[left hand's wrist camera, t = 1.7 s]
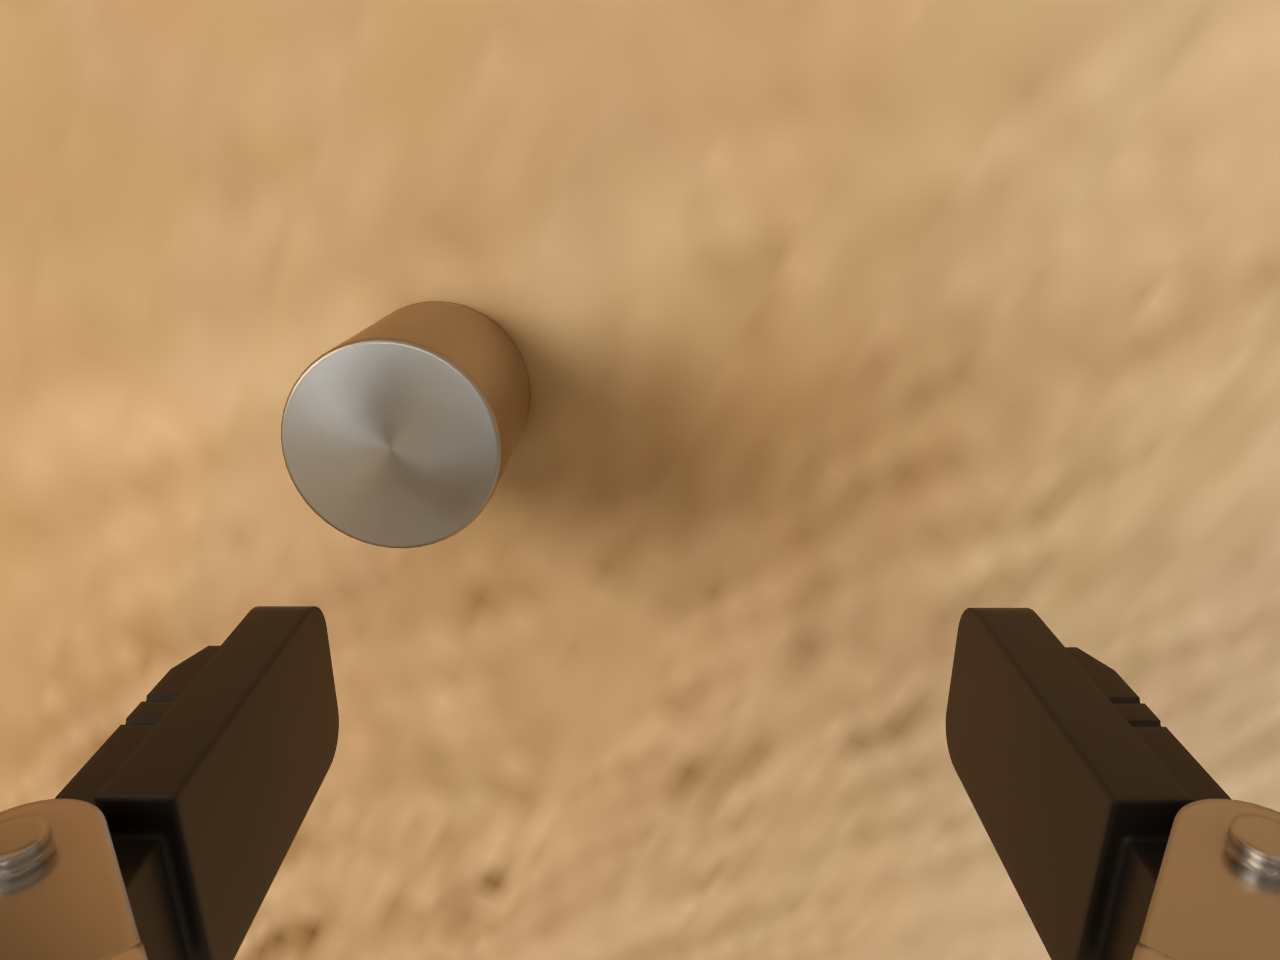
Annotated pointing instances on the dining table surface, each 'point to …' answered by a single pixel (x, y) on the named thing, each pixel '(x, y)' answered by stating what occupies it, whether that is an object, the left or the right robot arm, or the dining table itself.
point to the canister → (407, 425)
